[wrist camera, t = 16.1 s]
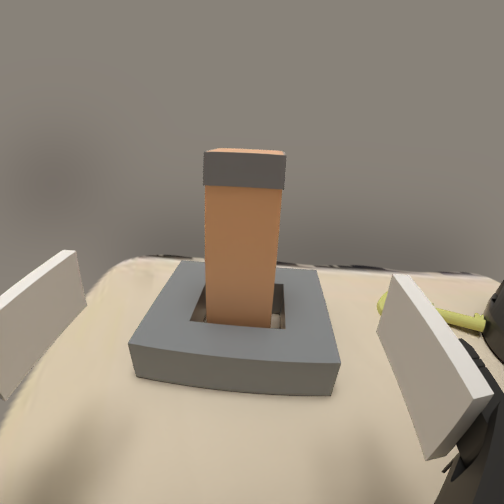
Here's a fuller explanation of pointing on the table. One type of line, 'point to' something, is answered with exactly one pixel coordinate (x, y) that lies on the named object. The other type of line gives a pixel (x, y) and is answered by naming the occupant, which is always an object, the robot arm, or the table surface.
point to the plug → (241, 233)
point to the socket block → (239, 339)
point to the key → (449, 317)
